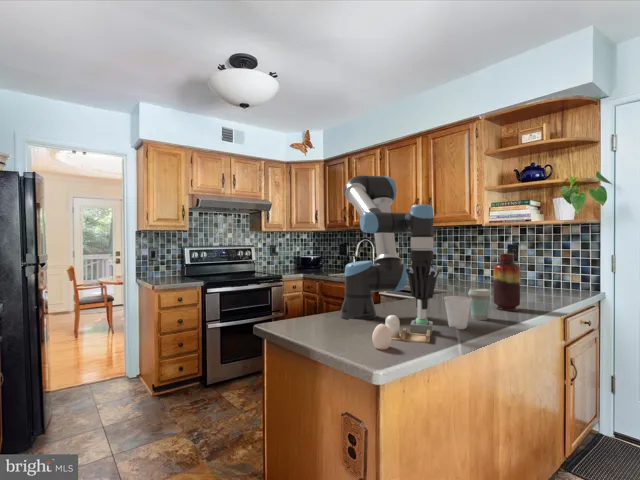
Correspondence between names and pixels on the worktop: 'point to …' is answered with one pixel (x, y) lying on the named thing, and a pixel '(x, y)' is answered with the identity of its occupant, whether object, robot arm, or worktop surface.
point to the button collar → (421, 327)
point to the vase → (507, 283)
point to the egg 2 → (393, 325)
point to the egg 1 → (381, 337)
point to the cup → (457, 311)
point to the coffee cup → (479, 303)
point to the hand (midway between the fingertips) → (421, 318)
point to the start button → (422, 321)
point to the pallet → (413, 337)
